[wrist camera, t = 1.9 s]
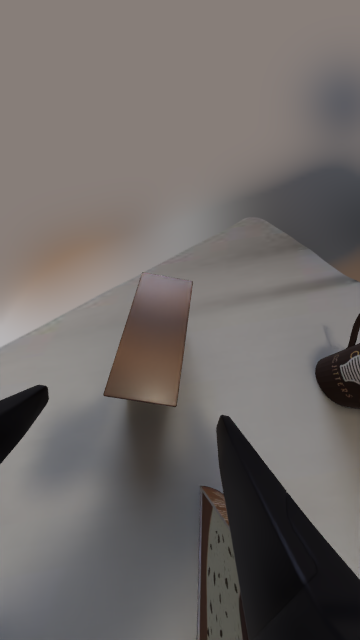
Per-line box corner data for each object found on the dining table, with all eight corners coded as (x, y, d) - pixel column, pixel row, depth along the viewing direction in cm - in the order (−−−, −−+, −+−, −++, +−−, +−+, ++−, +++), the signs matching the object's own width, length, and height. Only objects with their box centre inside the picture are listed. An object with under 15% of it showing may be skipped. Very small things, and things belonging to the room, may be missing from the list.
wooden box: (169, 404, 19) (176, 407, 11) (126, 398, 19) (102, 395, 11) (182, 320, 24) (193, 280, 16) (148, 314, 24) (142, 271, 16)
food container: (279, 691, 12) (631, 1544, 3) (195, 692, 12) (316, 1665, 3) (258, 470, 17) (361, 543, 9) (200, 466, 17) (246, 537, 8)
